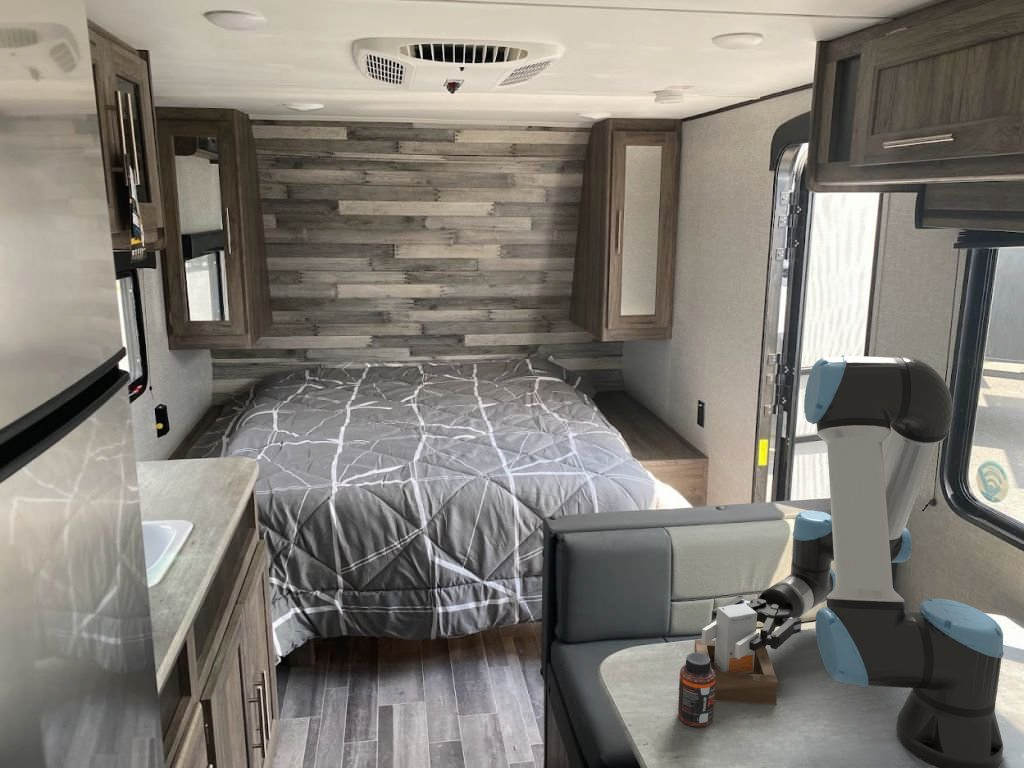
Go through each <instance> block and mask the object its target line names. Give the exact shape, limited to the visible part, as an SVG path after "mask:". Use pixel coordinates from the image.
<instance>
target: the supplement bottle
mask: <svg viewBox="0 0 1024 768" xmlns="http://www.w3.org/2000/svg"><path fill="white" fill-rule="evenodd" d="M685 659H686V660H685V663H684V664H683V665H682V666H681V668H680V670H679V680H678V681H679V682H678V683H679V684H678V705H677V706H678V707H677V710H678V711H677V715H678V717H679V719H680V720H681V722H683V723H684V724H685V725H688V726H691V727H696V728H703V727H707V726H709V725H711V723H712V722H713V720H714V713H715V712H714V711H715V701H714V696H715V672H714V671H713V669H712V668H711V667H710V666H711V665H710V658H709V657H708V656H707V655H705V654H703V653H694V652H690V653H688V654H687V655H686V657H685Z"/></svg>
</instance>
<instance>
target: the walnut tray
mask: <svg viewBox="0 0 1024 768" xmlns="http://www.w3.org/2000/svg"><path fill="white" fill-rule="evenodd" d="M766 647H767V646H765V647H763V646H762V647H761V648H759V649H758V650H756V651H755V657H754V672H752V673H746V674H744V673H729V672H720V671H719V670H718V669H717V668H716V667H715V666H714V659H715V639H713V640H711V641H709V642H708V643H706V644H703V643H702V639H697V638H695V639H694V652H693V653H703V654H705V655H707V656H708V657H709V658H710V665H711V666H710V667H711V668H712V669H713V671H714V672H715V696H714V702H715V701H716V702H728V703H729V702H730V703H743V704H746V703H747V704H759V705H774V706H775V705H776V706H777V704H778V703H777V702H778V685H779V681H778V678H777V676H776V672H775V669H774V667H773V663H772V660H771V658H770V656H769V652H768V650H767V648H766Z"/></svg>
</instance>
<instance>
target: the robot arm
mask: <svg viewBox="0 0 1024 768" xmlns="http://www.w3.org/2000/svg"><path fill="white" fill-rule="evenodd" d="M803 403H804V404H803V409H804V411H803V413H804V415H805V417H804V418H805V420H806V421H807V422H808V423H810V424H812V425H815V424H816V431H817V432H816V433H817V436H818V437H819V438H820V439H821V440H822V441H824V442H825V443H826V445H827V461H828V478H829V480H828V481H829V493H830V494H829V495H830V497H829V499H830V513H831V514H829V513H827V512H825V511H819V510H818V511H817V510H811V509H810V510H803V511H801V512H800V511H799V513H797V515H796V516H795V517H794V518H795V519H794V526H793V531H792V552H791V564H790V565H791V566H790V574H789V575H788V576H786V577H785V578H784V579H782V580H780V581H778V582H776V583H775V584H773V585H771V586H770V587H768V588H766V589H765V590H763V592H761V594H760V595H759V597H758V598H755V599H754V598H753V599H750V600H746V599H744V595H742V594H741V595H740V594H738V595H737V596H736V597H735V598H734V599H732V600H730V601H728V602H726V603H724V604H722V605H721V604H720V606H718V607H725V606H729V605H737V604H743V603H746V604H747V605H748V606H749V607H750V608H752V609H753V610H754V611H755V612H757V623H758V622H760V623H761V624H763V626H762V627H761V628H760V632H759V631H758V630H756V631H754V632H752V633H751V634H749V635H748V636H746V637H745V638H743V639H742V640H740V641H739V642H737V643H736V646H735V658H737V659H740V658H741V657H743V656H744V655H746V654H747V653H748V652H750V651H751V650H753V651H756V650H758V649H759V648H761V647H762V646H763V647H767V646H769V647H770V648H771V649H772V650H777V649H778V648H779V647H781V646H782V645H783V644H784V643H785V642H786V641H788V640H789V638H791V637H792V636H793V635H796V634H798V633H801V632H802V622H803V621H802V616H803V615H805V614H806V613H808V612H809V611H811V610H812V609H814V608H815V607H816V606H818V605H819V604H822V603H824V602H825V601H826V606H823V607H822V608H819V609H818V610H817V611H816V613H815V620H816V621H815V625H814V626H815V634H816V641H817V645H818V651H819V653H820V656H821V659H822V662H823V665H824V666H825V669H826V671H827V672H828V674H829V676H830V677H831V678H832V679H833V680H834V681H836V682H838V683H840V684H845V685H852V686H853V685H854V686H860V687H863V688H867V687H886V688H903V689H904V688H907V689H911V691H910V692H909V694H908V696H907V698H906V699H905V701H904V703H903V705H902V707H901V709H900V711H899V713H898V714H897V718H896V726H895V731H896V732H895V733H896V735H897V738H898V740H899V741H900V744H901V745H903V746H904V747H905V748H906V749H907V751H909V752H910V753H911V754H912V755H914V756H915V757H917V758H918V759H920V760H922V761H924V762H926V763H928V764H930V765H933V766H934V767H937V768H999V766H1001V764H1002V761H1003V754H1004V744H1003V743H1004V741H1003V739H1002V735H1001V732H1000V728H999V723H998V720H997V716H996V711H995V710H996V704H997V703H996V702H997V694H998V686H999V681H1000V672H1001V667H1002V659H1003V657H1004V633H1003V632H1004V631H1003V630H1002V628H1001V626H1000V624H999V623H998V622H997V621H996V620H995V619H994V618H993V617H992V616H990V615H988V614H987V613H985V612H983V611H982V610H979V608H978V609H977V608H975V607H973V606H970V605H968V604H966V603H962V602H959V601H956V600H951V599H947V598H946V599H945V598H940V597H939V598H937V597H935V598H934V597H933V598H928V599H925V600H923V601H922V602H921V604H920V605H919V611H906V607H905V605H906V604H905V599H904V598H903V597H901V595H900V594H899V593H898V592H896V591H895V589H894V588H893V587H894V586H893V574H892V573H893V572H892V563H905V562H907V561H908V560H910V558H911V555H912V547H913V540H912V535H911V533H910V530H909V529H908V528H907V527H906V526H907V524H908V521H909V518H910V517H911V513H912V510H913V508H914V506H915V502H916V500H917V497H918V495H919V491H920V490H921V487H922V484H923V481H924V479H925V476H926V474H927V471H928V467H929V466H930V463H931V460H932V457H933V455H934V452H935V450H936V447H937V444H938V443H940V442H942V441H944V440H945V439H946V438H947V436H948V433H949V432H950V429H951V425H952V421H953V417H954V403H953V398H952V395H951V392H950V389H949V387H948V385H947V382H946V381H945V379H944V378H943V377H942V376H941V374H939V372H938V371H937V370H936V369H935V368H933V367H932V366H930V365H929V364H927V363H926V362H924V361H923V360H920V359H917V358H914V357H908V356H896V357H892V356H855V355H852V356H851V355H841V356H826V357H825V356H824V357H822V358H820V359H818V360H817V361H816V362H815V363H814V364H813V366H812V368H811V369H810V371H809V375H808V379H807V383H806V387H805V392H804V402H803ZM888 436H889V438H888V442H887V444H886V448H885V451H884V454H883V442H884V441H885V440H886V439H887V437H888ZM832 562H833V564H834V565H833V566H834V567H833V568H834V569H832V568H831V567H832V565H831V564H832ZM718 607H716V608H714V609H712V610H711V621H708V622H707V625H706V626H705V627H703V628H702V629H701V640H702V643H703V644H706V643H708V642H709V641H711V640H715V639H716V620H717V608H718ZM777 627H778V628H777ZM776 628H777V629H776ZM775 629H776V630H775Z"/></svg>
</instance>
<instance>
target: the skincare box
mask: <svg viewBox="0 0 1024 768" xmlns="http://www.w3.org/2000/svg"><path fill="white" fill-rule="evenodd" d="M716 608H717V607H716ZM757 624H758V622H757V612H755V611H754V610H753V609H752V608H750V607H749V606H748V605H747V604H746V603H743V604H737V605H729V606H725V607H719V606H718V608H717V620H716V638H714V640H715V659H714V666H715V667H716V668H717V669H718V670H719V671H720V672H729V673H744V674H746V673H752V672H754V657H755V651H753V650H751V651H750V652H748V653H747V654H746V655H744V656H743V657H741V658H740V659H737V658H735V646H736V643H737V642H739V641H740V640H742V639H743V638H745V637H746V636H748V635H749V634H751V633H752V632H754V631H757Z"/></svg>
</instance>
